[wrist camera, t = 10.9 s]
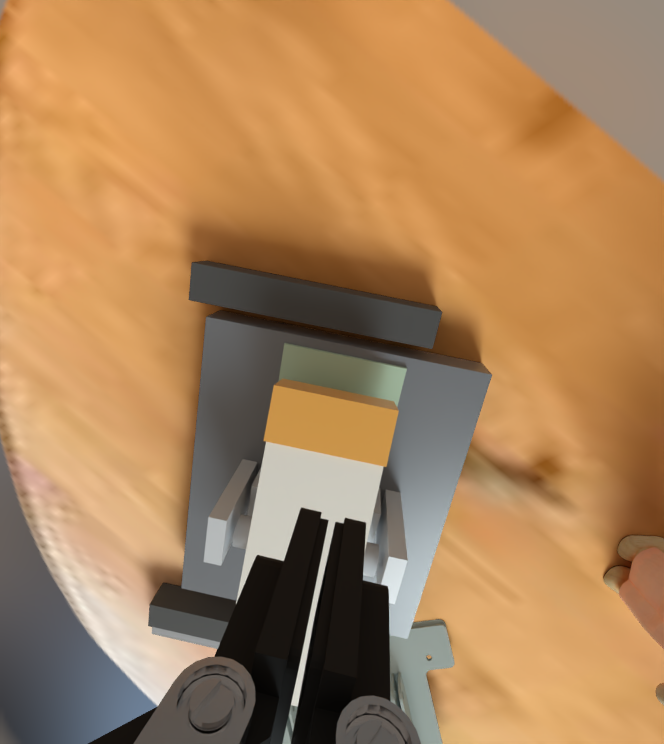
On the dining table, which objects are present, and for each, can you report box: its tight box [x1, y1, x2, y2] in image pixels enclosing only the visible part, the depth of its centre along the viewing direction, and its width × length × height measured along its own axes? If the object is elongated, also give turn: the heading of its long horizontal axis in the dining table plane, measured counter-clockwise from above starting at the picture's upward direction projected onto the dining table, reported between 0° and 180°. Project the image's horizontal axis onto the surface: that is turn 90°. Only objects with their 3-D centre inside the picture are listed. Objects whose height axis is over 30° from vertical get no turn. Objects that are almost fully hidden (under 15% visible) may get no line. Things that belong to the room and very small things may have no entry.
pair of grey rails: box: [148, 261, 442, 649], centre depth 25 cm, size 13×25×2 cm, turn 170°
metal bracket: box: [282, 619, 454, 744], centre depth 30 cm, size 14×6×15 cm
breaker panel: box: [181, 310, 492, 639], centre depth 22 cm, size 14×17×7 cm
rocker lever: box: [232, 378, 399, 707], centre depth 19 cm, size 6×14×2 cm, turn 170°
